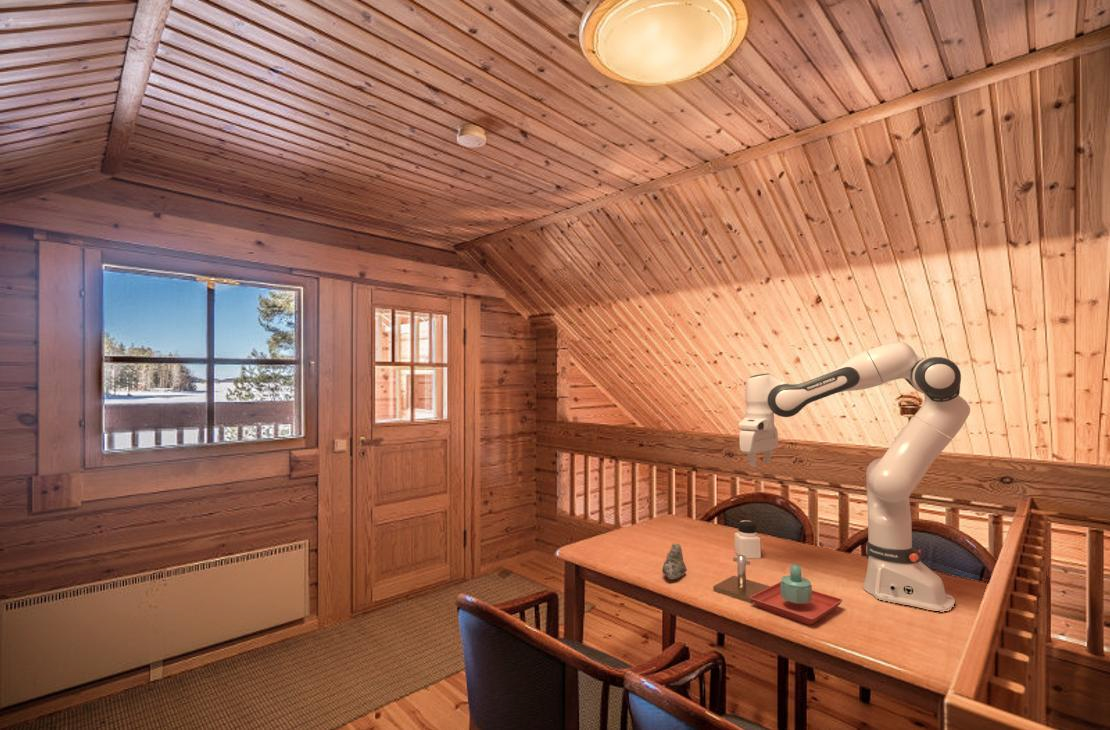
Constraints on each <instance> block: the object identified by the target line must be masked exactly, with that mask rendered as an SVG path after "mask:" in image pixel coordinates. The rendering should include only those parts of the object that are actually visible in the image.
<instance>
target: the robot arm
mask: <svg viewBox="0 0 1110 730" xmlns="http://www.w3.org/2000/svg"><path fill="white" fill-rule="evenodd" d="M899 379H900V380H901V379H903V380H906V381H907V383H908V384H909V385H910V386H911V387H912V388H913V389H914V390H916V391H917V392H919V393H921V394H923V395H924V396H923V397H924V401H923V403H922V405H921V407H920V408H919V410H918V411H917V412H915V414H914V416H912V417H911V418H910V420H909V421H908V422H907V424H906V425H904V427H902V429H901V431H900V432H899V433H898V434H897V435H896V436H895V439H894V440H893V441H892V443H891V444H890V446H889V448H888V449H887V450H886V452H885V453H884V455H883V456H882V457H878V458H875V459H874V460H873V461H871V462H870V463H869V465H868V466H867V468H866V472H865V474H866V475H865V476H866V477H865V479H866V480H865V482H866V503H867V528H868V529H867V535H868V536H867V537H868V540H867V541H866V550H865V553H866V559H867V567H866V574H865V577H864V582H863V584H862V588H863V589H864V590H865V591H866V592H867V593H869V594H870V595H872V596H874V598H875V599H876V600H878V599H879V600H878V601H880V600H883V601H882V602H885V601H888V602H887V603H890V602H894V603H893V604H895V603H900V604H906V605H912V606H917V607H922V608H927V609H932V610H938V611H943V610H948V609H950V608H952V607H953V606H954V604H955V605H956V600H955V598H954V597H953V596H952V595H950V594H948V593H946V590H945V585H944V581H943V580H942V578H941V577H940V576H939V575H938V574H936V573H935V572H934V571H933V570H931V568H929V567H928V566H927V565H925V564H924V563H923V562H922V561H921V554H922V553H921V551H922V550H921V549H919V550H917V549H916V548H915V547H914V546H913V539H912V536H913V535H912V533H913V532H912V515H911V506H910V505H911V503H910V502H911V501H910V496H911V495H912V492H913V491H915V489H916V487H917V486H918V485H919V484H920V482H921V481H922V479H923V478H924V476H925V475H926V473H927V472H928V470H929V469H930V467H931V465H932V464H933V462H935V460H936V458H938V457H939V455H940V454H941V453H943V451H944V450H945V448H946V447H947V446H948V445H949V444H950V443H951V441H953V439H954V438H955V437H956V436H957V434H958V433H959V431H961V429H962V428H963V426H964V424H965V423H966V422H967V421H966V420H967V419H968V417H969V416H970V414H971V406H970V405H969V403H968V402H967V400H965V399H964V398H963V397H961V396H960V392H961V381H962V373H961V370H960V368H959V366H958V365H957V364H956V363H955V362H954V361H952V360H951V359H949V358H946V357H942V356H941V357H940V356H930V357H920V356H918V355H917V353H916V352H915V350H914V349H913V348H912V346H910V344H909V343H906V342H903V341H896V342H895V341H894V342H891V343H890V342H889V343H886V344H882V345H878V346H875V347H872V348H869V349H867V350H864V351H862V352H859V353H856V354H855V355H853V356H851V357H849V358H847V359H846V360H845V361H842V363H840V364H839V365H838V366H837V367H836V368H834V369H833V370H831V371H828V373H825V374H823V375H820V376H818V377H815V378H812V379H810V380H808V381H805V382H802V383H801V382H800V383H796V384H792V383H788V382H785V381H783V380H781V379H779V378H777V377H775V376H773V375H772V374H771V373H760V374H755V375H751V376H749V378H747V380H746V382H745V391H744V392H745V393H744V394H745V395H744V396H745V397H744V399H745V400H744V402H745V406H746V409H745V412H744V413H745V417H744V418H743V419H742V420H741V421H739V422H738V430H740V431H739V438H738V439H739V440H738V441H739V451H740V452H741V454H745V455H747V458H748V461H749V466H750V467H751V468H756V467H757V466H758V461H756V457H757V456H756V454H758V453H762V452H763V453H764V457H762V462H763V464H766V465H767V464H771V457H772V454H773V450H775V449H778V447H779V436H778V434H779V433H778V428H777V427H776V425H775V415H777V416H778V417H782V418H791V417H793V416H796V415H797V414H798V413H799V412H800V411H802V409H804V408H805V407H806V406H808V404H811V403H813V402H816V401H818V400H822V399H824V398H827V397H829V396H832V395H834V394H838V393H843V392H849V391H850V392H853V391H860V390H866V389H870V388H874V387H878V386H881V385H884V384H887V383H888V382H889V383H890V382H892V381H895V380H896V381H897V380H899ZM954 607H955V606H954Z"/></svg>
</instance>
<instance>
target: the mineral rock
mask: <svg viewBox="0 0 1110 730" xmlns="http://www.w3.org/2000/svg"><path fill="white" fill-rule="evenodd" d="M670 547H671V548H670V550H669V551H668V553H667V554H666V559H665V560H664V562H663V566H662V570H661V572H662V574H663V575H665V576H666V577H667V578H668V579H669V580H676V579H679V578H681V577H682V576H684V575H685V573H686V572H687V571H688V570H687V566H686V564H685V561H684V556H683V555H684V554H683V549H682V545H681V544H680V543H678V542H676V543H672V544H671V546H670Z"/></svg>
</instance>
